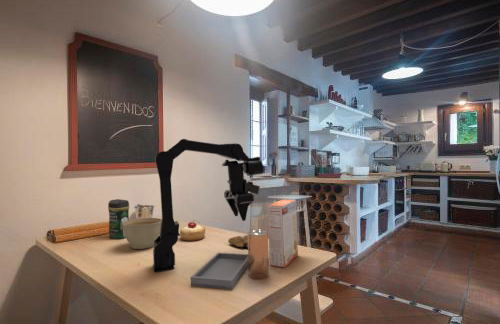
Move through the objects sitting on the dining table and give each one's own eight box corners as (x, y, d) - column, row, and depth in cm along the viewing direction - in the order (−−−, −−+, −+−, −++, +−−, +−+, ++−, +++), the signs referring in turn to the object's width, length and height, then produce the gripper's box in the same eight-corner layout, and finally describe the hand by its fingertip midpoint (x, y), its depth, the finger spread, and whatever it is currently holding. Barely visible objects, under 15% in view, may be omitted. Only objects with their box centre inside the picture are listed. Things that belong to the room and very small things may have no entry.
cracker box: (283, 253, 107) (282, 198, 107) (298, 255, 104) (297, 199, 104) (268, 265, 95) (266, 204, 95) (284, 268, 92) (283, 205, 92)
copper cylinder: (253, 281, 83) (252, 233, 83) (245, 273, 89) (244, 229, 89) (272, 277, 86) (271, 231, 86) (263, 269, 92) (262, 226, 91)
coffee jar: (106, 237, 136) (105, 199, 136) (120, 234, 143) (119, 197, 143) (118, 240, 131) (117, 201, 131) (132, 236, 138) (131, 198, 138)
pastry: (180, 237, 136) (179, 219, 136) (204, 234, 139) (203, 216, 139) (180, 243, 124) (179, 223, 125) (207, 240, 127) (206, 220, 128)
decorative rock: (268, 246, 118) (242, 241, 128) (268, 236, 118) (242, 232, 128) (250, 252, 109) (224, 246, 119) (250, 241, 110) (224, 236, 120)
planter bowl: (164, 248, 117) (163, 222, 117) (122, 254, 111) (121, 227, 111) (161, 239, 132) (160, 216, 132) (124, 243, 126) (123, 219, 126)
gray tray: (190, 285, 81) (190, 277, 81) (218, 259, 102) (217, 252, 102) (232, 289, 78) (231, 280, 78) (251, 261, 99) (251, 254, 99)
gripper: (265, 175, 99) (269, 219, 99) (248, 173, 116) (251, 211, 117) (235, 179, 95) (239, 224, 95) (222, 176, 112) (225, 215, 113)
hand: (240, 218), depth 105 cm, fingers open, 9 cm apart
